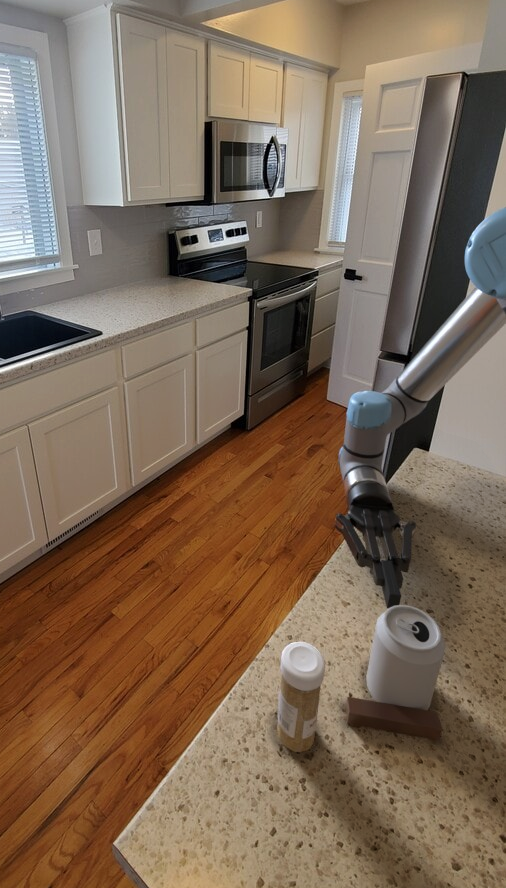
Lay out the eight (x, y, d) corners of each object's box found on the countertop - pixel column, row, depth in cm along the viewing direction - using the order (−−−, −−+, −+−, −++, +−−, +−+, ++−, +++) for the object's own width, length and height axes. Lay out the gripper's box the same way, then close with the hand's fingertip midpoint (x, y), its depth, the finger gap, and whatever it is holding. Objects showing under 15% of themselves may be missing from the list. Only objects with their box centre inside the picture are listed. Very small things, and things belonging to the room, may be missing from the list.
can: (431, 732, 57) (452, 663, 52) (364, 710, 59) (377, 642, 55) (427, 675, 63) (444, 608, 58) (366, 657, 66) (378, 592, 61)
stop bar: (432, 728, 57) (437, 711, 56) (437, 746, 56) (442, 729, 54) (344, 712, 59) (347, 696, 58) (346, 729, 58) (349, 713, 56)
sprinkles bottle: (319, 757, 55) (331, 677, 49) (279, 759, 55) (287, 680, 49) (308, 715, 59) (318, 638, 54) (271, 718, 59) (277, 640, 53)
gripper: (402, 518, 88) (440, 628, 67) (328, 511, 91) (341, 615, 69) (409, 484, 85) (450, 588, 64) (332, 477, 88) (347, 575, 66)
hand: (394, 602), depth 67 cm, fingers closed
